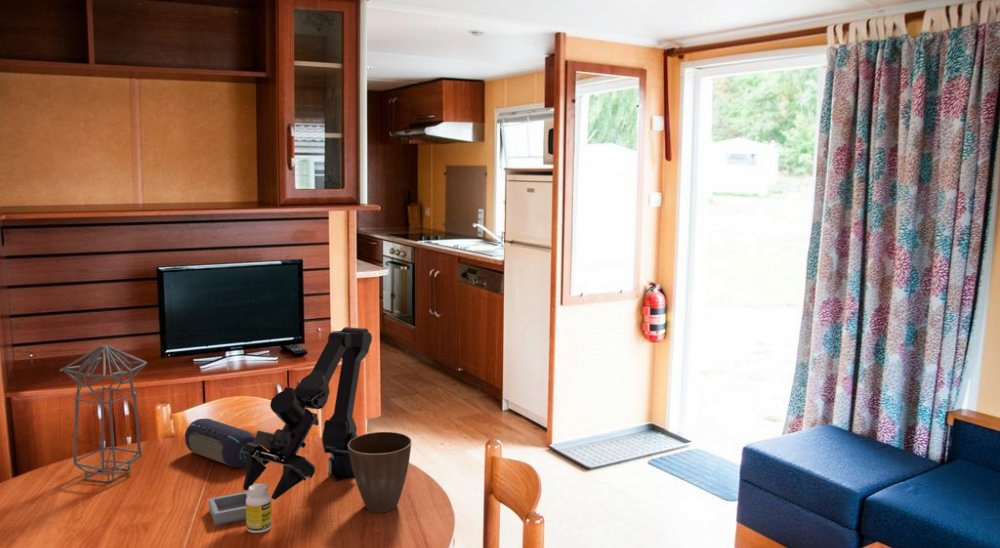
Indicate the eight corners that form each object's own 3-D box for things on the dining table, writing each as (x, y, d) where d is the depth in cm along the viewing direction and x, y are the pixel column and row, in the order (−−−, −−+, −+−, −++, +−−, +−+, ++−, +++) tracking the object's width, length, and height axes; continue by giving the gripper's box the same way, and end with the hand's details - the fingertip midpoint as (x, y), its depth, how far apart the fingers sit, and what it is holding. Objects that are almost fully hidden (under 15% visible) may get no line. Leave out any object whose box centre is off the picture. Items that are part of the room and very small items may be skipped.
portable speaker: (179, 455, 218) (177, 421, 217) (210, 445, 227) (208, 411, 225) (234, 475, 204) (232, 439, 203) (265, 464, 212) (264, 429, 211)
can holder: (249, 502, 188) (249, 491, 187) (257, 518, 180) (256, 505, 179) (209, 510, 183) (208, 498, 183) (215, 526, 175) (214, 514, 175)
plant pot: (360, 525, 176) (358, 458, 174) (341, 500, 189) (340, 437, 187) (421, 512, 183) (420, 447, 181) (399, 489, 196) (398, 428, 194)
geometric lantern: (106, 461, 213) (101, 336, 209) (154, 469, 209) (151, 342, 205) (59, 483, 198) (53, 349, 194) (110, 491, 194) (106, 355, 190)
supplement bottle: (264, 535, 171) (262, 492, 170) (242, 532, 172) (240, 490, 171) (276, 524, 177) (274, 483, 175) (254, 521, 178) (252, 480, 176)
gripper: (246, 408, 181) (208, 469, 173) (304, 422, 171) (267, 487, 163) (273, 432, 188) (238, 491, 180) (330, 446, 179) (296, 509, 171)
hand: (258, 494), depth 174 cm, fingers open, 9 cm apart
